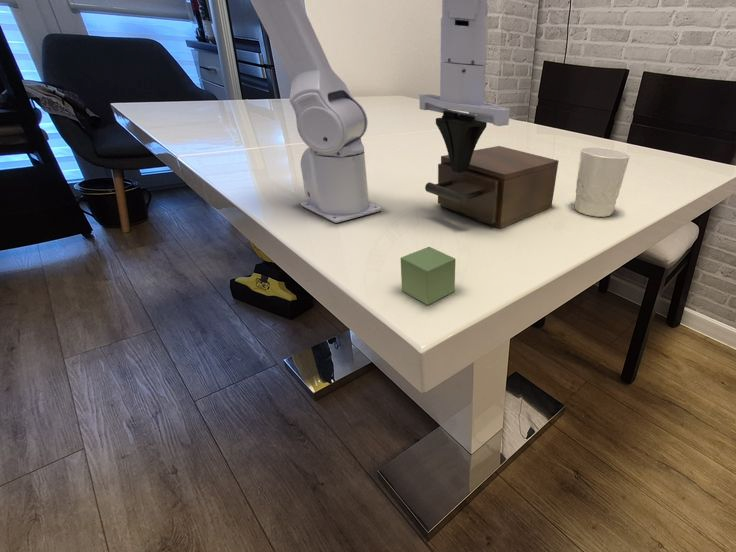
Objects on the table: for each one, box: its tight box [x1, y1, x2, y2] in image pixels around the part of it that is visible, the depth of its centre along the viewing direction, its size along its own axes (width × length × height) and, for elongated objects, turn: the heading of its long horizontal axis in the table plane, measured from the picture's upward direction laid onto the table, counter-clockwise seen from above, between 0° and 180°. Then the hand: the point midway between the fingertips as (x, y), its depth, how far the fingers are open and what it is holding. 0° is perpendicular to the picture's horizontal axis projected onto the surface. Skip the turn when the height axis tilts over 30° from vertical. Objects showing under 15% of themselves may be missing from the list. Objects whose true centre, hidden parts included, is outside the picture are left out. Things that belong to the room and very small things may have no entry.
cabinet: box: [440, 145, 559, 229], centre depth 66 cm, size 15×13×8 cm
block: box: [400, 246, 456, 306], centre depth 42 cm, size 4×4×4 cm
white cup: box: [574, 146, 630, 218], centre depth 68 cm, size 8×8×10 cm
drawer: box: [424, 162, 501, 224], centre depth 64 cm, size 18×11×6 cm, turn 142°
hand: (459, 170), depth 58 cm, fingers closed
